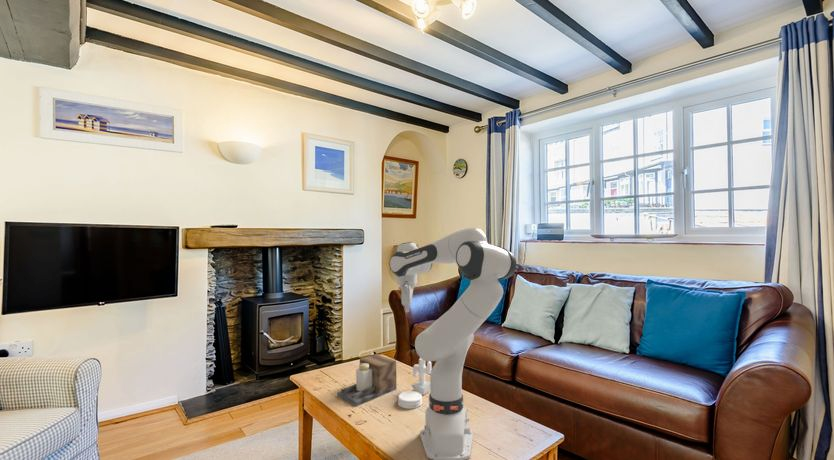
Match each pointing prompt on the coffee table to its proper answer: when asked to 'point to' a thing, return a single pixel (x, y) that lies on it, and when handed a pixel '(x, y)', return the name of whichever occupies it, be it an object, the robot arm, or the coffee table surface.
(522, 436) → the coffee table surface
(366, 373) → the knob
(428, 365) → the figurine
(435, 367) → the robot arm
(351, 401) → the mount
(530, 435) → the coffee table surface
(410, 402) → the coaster
